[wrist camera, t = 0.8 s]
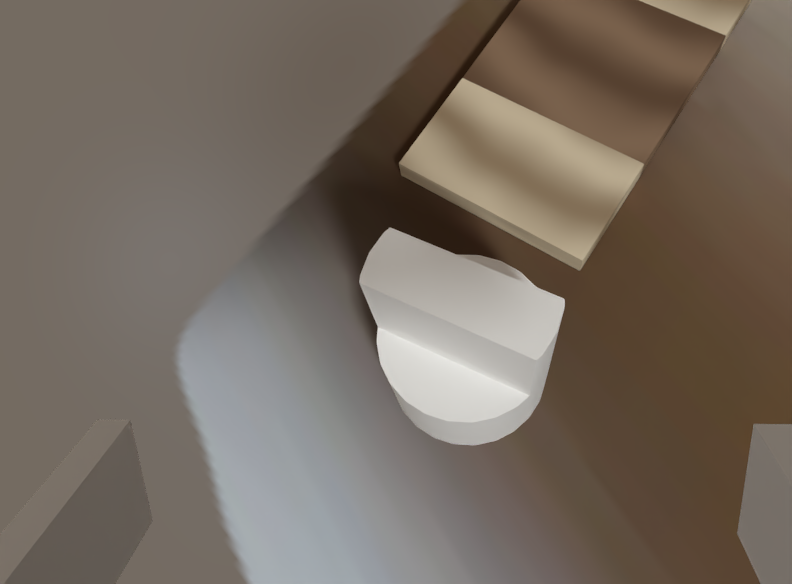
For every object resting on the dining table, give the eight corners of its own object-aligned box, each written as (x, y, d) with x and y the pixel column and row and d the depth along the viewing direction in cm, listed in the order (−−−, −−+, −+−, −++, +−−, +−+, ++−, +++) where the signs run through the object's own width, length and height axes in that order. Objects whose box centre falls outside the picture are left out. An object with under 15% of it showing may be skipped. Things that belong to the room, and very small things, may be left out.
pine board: (597, -91, 55) (600, -108, 54) (769, -27, 52) (776, -44, 50) (401, 175, 49) (398, 163, 48) (579, 271, 45) (582, 260, 44)
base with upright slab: (363, 403, 44) (320, 338, 33) (432, 273, 46) (413, 172, 35) (507, 473, 41) (513, 428, 30) (570, 332, 44) (597, 243, 33)
